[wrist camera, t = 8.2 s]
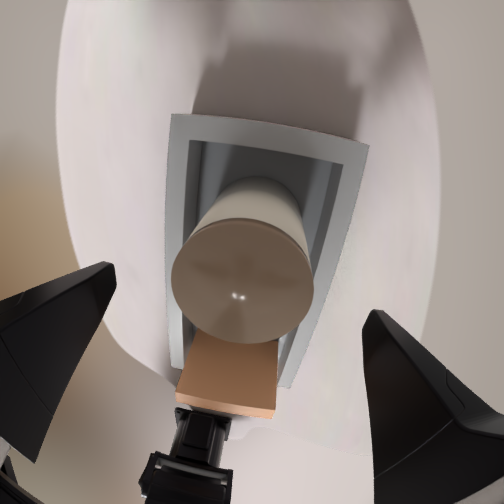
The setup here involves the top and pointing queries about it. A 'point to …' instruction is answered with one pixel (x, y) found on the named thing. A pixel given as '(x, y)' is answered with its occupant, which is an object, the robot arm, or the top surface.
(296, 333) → the grey tray
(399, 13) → the top surface
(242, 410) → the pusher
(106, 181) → the top surface
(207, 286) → the cream brown-topped cylinder
